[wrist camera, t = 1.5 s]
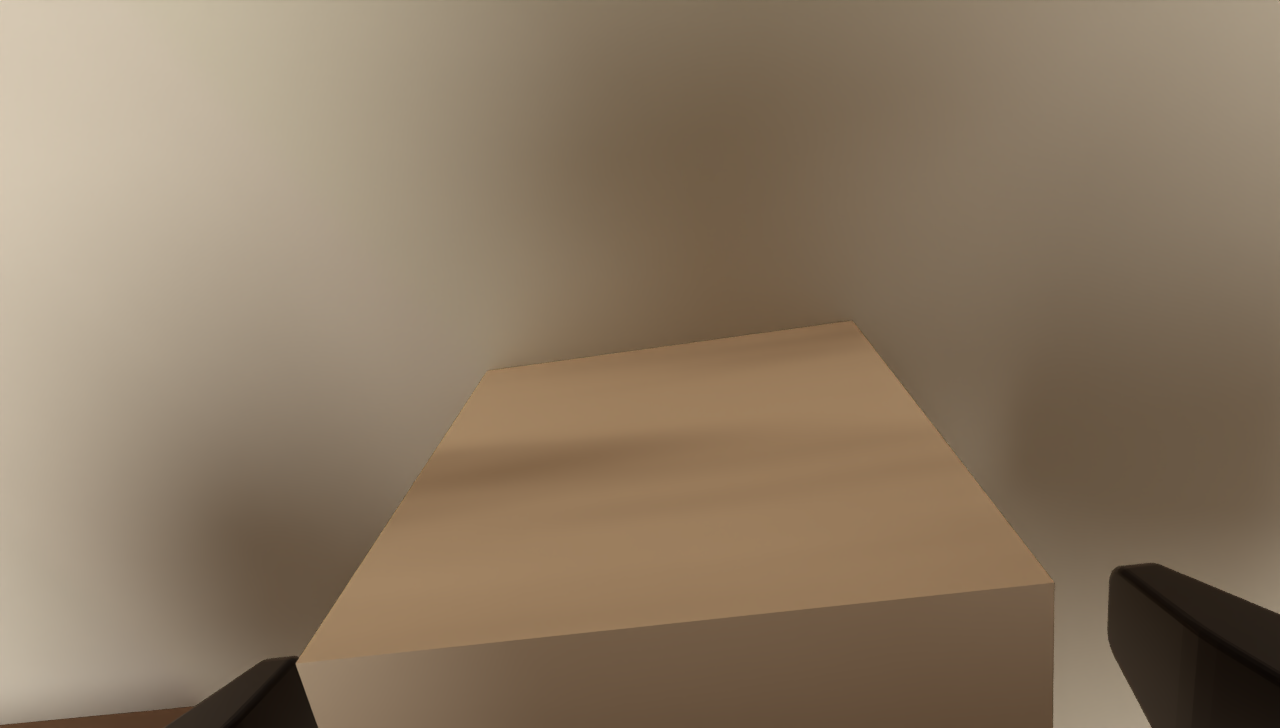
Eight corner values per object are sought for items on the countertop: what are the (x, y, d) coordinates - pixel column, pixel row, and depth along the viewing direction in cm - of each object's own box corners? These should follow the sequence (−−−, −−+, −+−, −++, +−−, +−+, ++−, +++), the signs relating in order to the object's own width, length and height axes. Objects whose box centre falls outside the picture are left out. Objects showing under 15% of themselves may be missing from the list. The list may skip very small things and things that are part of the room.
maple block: (874, 630, 12) (1047, 1096, 7) (555, 663, 13) (461, 1127, 7) (851, 319, 11) (1054, 581, 5) (488, 369, 11) (295, 664, 5)
